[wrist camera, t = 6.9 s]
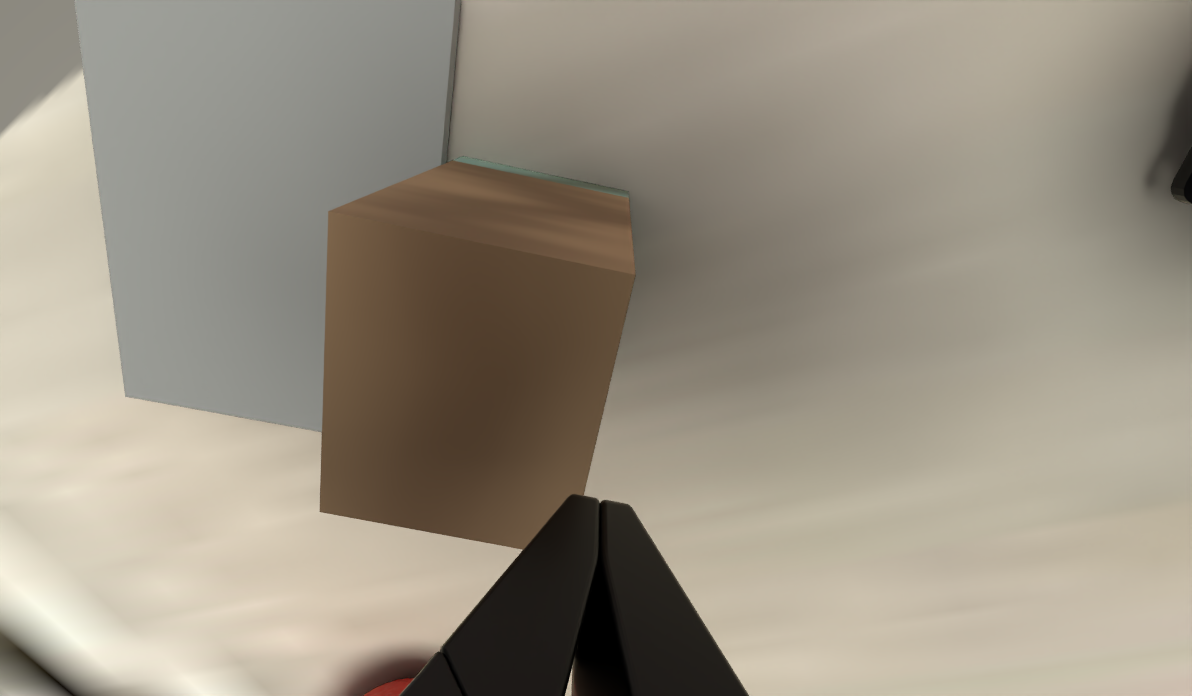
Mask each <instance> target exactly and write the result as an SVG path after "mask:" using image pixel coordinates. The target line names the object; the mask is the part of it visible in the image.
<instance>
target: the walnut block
mask: <svg viewBox="0 0 1192 696" xmlns="http://www.w3.org/2000/svg"><path fill="white" fill-rule="evenodd" d="M635 275H636V274H635V263H634V251H633V240H632V228H631V217H630V205H629V194H628V191H624V190H619V189H614V188H610V187H605V186H600V185H596V184H591V183H586V182H581V181H577V180H572V179H567V178H563V177H558V176H553V175H549V174H544V173H539V172H535V171H530V170H525V169H520V168H516V167H511V166H506V165H502V164H497V163H492V162H488V161H483V160H478V159H474V158H469V157H464V156H462V157H460V158H457V159H455V160H452V161H450V162H447V163H445V164H443V165H440V166H438V167H435V168H433V169H430V170H428V171H425V172H423V173H420V174H418V175H416V176H413V177H411V178H408V179H406V180H403V181H401V182H398V183H396V184H394V185H391V186H389V187H386V188H384V189H381V190H379V191H376V192H374V193H372V194H369V195H367V196H364V197H362V198H359V199H357V200H354V201H352V202H350V203H347V204H345V205H342V206H340V207H337V208H335V209H332V210H330V211H328V237H327V272H326V307H325V343H324V378H323V413H322V448H321V484H320V512H323V513H329V514H334V515H339V516H345V517H350V518H356V519H361V520H366V521H372V522H377V523H383V524H388V525H394V526H399V527H404V528H410V529H415V530H421V531H426V532H431V533H437V534H442V535H448V536H453V537H459V538H464V539H469V540H475V541H480V542H486V543H491V544H496V545H502V546H507V547H513V548H518V549H523V550H524V548H525V547H526V546H527V545H528V544H529V543H530V541H531V540H532V539H533V538H534V537H535V535H536V534H537V533H538V532H539V531H540V529H541V528H542V527H543V526H544V525H545V524H546V522H547V521H548V520H549V519H550V518H551V516H552V515H553V514H554V513H555V512H556V511H557V509H558V508H559V507H560V506H561V505H562V503H563V502H564V501H565V500H566V499H567V497H568V496H570V495H571V494H578V495H584V491H585V487H586V482H587V478H588V474H589V470H590V466H591V461H592V457H593V453H594V449H595V444H596V440H597V436H598V432H599V427H600V423H601V419H602V415H603V411H604V406H605V402H606V398H607V394H608V389H609V385H610V381H611V377H612V372H613V368H614V364H615V360H616V355H617V351H618V347H619V343H620V339H621V334H622V330H623V326H624V322H625V317H626V313H627V309H628V305H629V300H630V296H631V292H632V288H633V284H634V279H635Z"/></svg>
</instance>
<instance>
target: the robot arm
mask: <svg viewBox="0 0 1192 696" xmlns="http://www.w3.org/2000/svg"><path fill="white" fill-rule="evenodd" d="M1171 193H1172V195H1173V197H1174V198H1175V199H1176V200H1178V201H1180V202H1184V203H1189V204H1192V147H1191V149H1190V151H1189V153H1188V155H1187V156H1186V158H1185V160H1184V162H1183V164H1182V166H1181V167H1180V169H1179V171H1178V173H1177V175H1176V176H1175V178H1174V180H1173V183H1172V186H1171ZM572 665H573V667H572ZM571 669H572V696H749V695H748V693H747V692H746V690H745V688H744V687H743V685H742V684H741V682H740V680H739V679H738V677H737V676H736V674H735V672H734V671H733V669H732V668H731V666H730V664H729V663H728V661H727V659H726V658H725V656H724V655H723V653H722V651H721V650H720V648H719V647H718V645H717V643H716V642H715V640H714V639H713V637H712V635H711V634H710V632H709V631H708V629H707V627H706V626H705V624H704V623H703V621H702V619H701V618H700V616H699V615H698V613H697V611H696V610H695V608H694V606H693V605H692V603H691V602H690V600H689V598H688V597H687V595H686V594H685V592H684V590H683V589H682V587H681V586H680V584H679V582H678V581H677V579H676V578H675V576H674V574H673V573H672V571H671V570H670V568H669V566H668V565H667V563H666V562H665V560H664V558H663V557H662V555H661V553H660V552H659V550H658V549H657V547H656V545H655V544H654V542H653V541H652V539H651V537H650V536H649V534H648V533H647V531H646V529H645V528H644V526H643V525H642V523H641V521H640V520H639V518H638V517H637V515H636V513H635V512H634V510H633V508H632V507H631V506H630V505H628V504H624V503H619V502H614V501H609V500H603V501H602V502H601V503H600V502H599V500H598V499H597V498H593V497H588V496H583V495H578V494H571V495H570V496H568V497H567V499H566V500H565V501H564V502H563V503H562V505H561V506H560V507H559V508H558V509H557V511H556V512H555V513H554V514H553V515H552V516H551V518H550V519H549V520H548V521H547V522H546V524H545V525H544V526H543V527H542V528H541V529H540V531H539V532H538V533H537V534H536V535H535V537H534V538H533V539H532V540H531V541H530V543H529V544H528V545H527V546H526V547H525V548H524V550H523V551H522V552H521V553H520V554H519V556H518V557H517V558H516V559H515V560H514V561H513V563H512V564H511V565H510V566H509V567H508V569H507V570H506V571H505V572H504V573H503V575H502V576H501V577H500V578H499V579H498V580H497V582H496V583H495V584H494V585H493V586H492V588H491V589H490V590H489V591H488V592H487V593H486V595H485V596H484V597H483V598H482V599H481V601H480V602H479V603H478V604H477V605H476V607H475V608H474V609H473V610H472V611H471V612H470V614H469V615H468V616H467V617H466V618H465V620H464V621H463V622H462V623H461V624H460V625H459V627H458V628H457V629H456V630H455V631H454V633H453V634H452V635H451V636H450V637H449V638H448V640H447V641H446V642H445V643H444V644H443V646H442V647H441V649H440V652H437V653H435V655H434V656H433V657H432V658H431V659H430V660H429V662H428V663H427V664H426V665H425V666H424V668H423V669H422V670H421V671H420V672H419V674H418V675H417V676H416V677H415V678H414V679H413V680H412V681H411V683H410V684H409V685H408V686H407V687H406V688H405V689H404V690H403V691H402V693H401V694H400V695H399V696H565V693H566V689H567V685H568V681H569V677H570V673H571Z"/></svg>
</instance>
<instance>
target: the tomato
mask: <svg viewBox="0 0 1192 696" xmlns="http://www.w3.org/2000/svg"><path fill="white" fill-rule="evenodd" d="M413 679H414V678H410V679H409V678H406V679H397V680H394V681H392V682H390V683H385V684H383V685H381V686H378V687H376V688H374V689H373V690H371V691H369V692H368V693H366V694H364V695H363V696H399V695H400V694H401V693H402V691H403V690H404V689H405V688H406V687H407V686H408V685H409V684H410V683H411V681H412V680H413Z"/></svg>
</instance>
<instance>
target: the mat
mask: <svg viewBox="0 0 1192 696" xmlns="http://www.w3.org/2000/svg"><path fill="white" fill-rule="evenodd" d="M74 1H75V9H76V17H77V25H78V31H79V32H78V33H79V39H80V48H81V55H82V64H83V71H84V79H85V87H86V95H87V102H88V110H89V118H90V126H91V133H92V141H93V149H94V157H95V164H96V172H97V180H98V188H99V195H100V203H101V211H102V219H103V226H104V234H105V242H106V250H107V257H108V265H109V273H110V281H111V288H112V296H113V304H114V312H115V319H116V327H117V335H118V343H119V350H120V358H121V366H122V374H123V381H124V389H125V397H131V398H136V399H142V400H147V401H153V402H158V403H164V404H169V405H175V406H180V407H186V408H191V409H197V410H202V411H208V412H213V413H219V414H225V415H230V416H236V417H241V418H247V419H252V420H258V421H263V422H269V423H274V424H280V425H285V426H291V427H296V428H302V429H307V430H313V431H318V432H322V413H323V378H324V343H325V307H326V272H327V237H328V211H330V210H332V209H335V208H337V207H340V206H342V205H345V204H347V203H350V202H352V201H354V200H357V199H359V198H362V197H364V196H367V195H369V194H372V193H374V192H376V191H379V190H381V189H384V188H386V187H389V186H391V185H394V184H396V183H398V182H401V181H403V180H406V179H408V178H411V177H413V176H416V175H418V174H420V173H423V172H425V171H428V170H430V169H433V168H435V167H438V166H440V165H443V164H445V163H446V161H447V150H448V139H449V128H450V117H451V106H452V95H453V83H454V72H455V61H456V50H457V39H458V28H459V17H460V6H461V0H74Z"/></svg>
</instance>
